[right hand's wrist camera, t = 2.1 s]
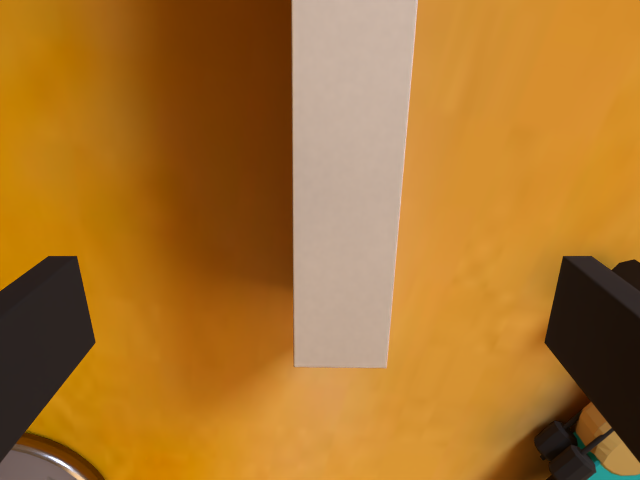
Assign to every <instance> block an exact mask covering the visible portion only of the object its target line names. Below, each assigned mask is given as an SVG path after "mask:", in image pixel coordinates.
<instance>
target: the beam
mask: <svg viewBox="0 0 640 480" xmlns="http://www.w3.org/2000/svg"><path fill="white" fill-rule="evenodd" d="M417 5H418V0H291V27H292V180H293V333H294V367H330V368H386V367H387V357H388V346H389V334H390V322H391V310H392V299H393V287H394V275H395V263H396V252H397V240H398V228H399V217H400V205H401V193H402V181H403V170H404V158H405V146H406V134H407V123H408V111H409V99H410V87H411V76H412V64H413V52H414V40H415V29H416V17H417Z"/></svg>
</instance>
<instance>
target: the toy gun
mask: <svg viewBox="0 0 640 480" xmlns="http://www.w3.org/2000/svg"><path fill="white" fill-rule="evenodd" d="M611 271H613V272H614V273H615V274H617V275H618V276H619V277H621V278H622V279H624V280H625V281H626V282H628V283H629V284H630V285H632V286H633V287H635V288H636V289H637V290H639V291H640V263H639V262H638V261H636V260H630V261H626V262H621V263H619V264H618V265H617V266H616V267H615V268H614V269H612V270H611ZM577 421H578V422H577ZM576 422H577V425H576V431H575V432H574V433H573V432H572V431H571V430H570V429H569V428H570V427H571V426H572V425H573V424H574V423H576ZM534 443H535V446H536V448H537V449H538V451H539V452H540V453H541V454H542V455H541V456H540V458H541V459H542V460H545V459H547V460H549V461H551V462H549V469H550V472H551V474H552V475H551V476H550V477H549V478H547V479H546V480H640V463H639V462H638V460H637V459H636V458H635V456H634V455H633V454H632V453H631V451H630V450H629V449H628V448H627V446H626V445H625V444H624V443H623V441H622V440H621V439H620V437H619V436H618V435H617V434H616V432H615V431H614V430H613V429H612V427H611V426H610V425H609V424H608V422H607V421H606V420H605V418H604V417H603V416H602V415H601V413H600V412H599V411H598V410H597V408H596V407H595V406H594V405H593V403H592V402H590V403H589V404H588V405H587V406H585V407H584V408H583V409H582V410H581V411H580V412H578V413H577V414H576V415H575V416H574V417H573V418H571V419H570V420H569V421H568V422H567V423H565V424H563V423H561V422H559V421H553V422H552V423H551V424H550V425H549V426H548V427H546V428H545V429H544V430H543V431H542V432H541V433H540V434H538V435H537V436H536V437H535V438H534Z"/></svg>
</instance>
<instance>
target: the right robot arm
mask: <svg viewBox="0 0 640 480" xmlns="http://www.w3.org/2000/svg"><path fill="white" fill-rule="evenodd" d="M95 343H96V342H95V338H94V333H93V328H92V324H91V319H90V315H89V310H88V305H87V301H86V296H85V292H84V287H83V282H82V278H81V273H80V269H79V264H78V259H77V256H48V257H47V258H45V259H44V260H43V261H41V262H40V263H38V264H37V265H36V266H34V267H33V268H32V269H30V270H29V271H27V272H26V273H25V274H23V275H22V276H21V277H19V278H18V279H16V280H15V281H14V282H12V283H11V284H10V285H8V286H7V287H5V288H4V289H3V290H1V291H0V480H105V479H104V478H103V476H102V475H101V474H100V473H99V472H98V470H97V469H96V468H95V467H94V466H93V465H92V464H90V463H89V462H88V461H87V460H86V459H84V458H83V457H82V456H80V455H79V454H77V453H76V452H74V451H72V450H71V449H69V448H67V447H65V446H63V445H61V444H59V443H57V442H55V441H52V440H50V439H47V438H44V437H41V436H37V435H34V434H29V433H24V432H25V431H26V430H27V429H28V427H29V426H30V425H31V424H32V422H33V421H34V420H35V418H36V417H37V416H38V415H39V413H40V412H41V411H42V410H43V408H44V407H45V406H46V405H47V403H48V402H49V401H50V400H51V398H52V397H53V396H54V394H55V393H56V392H57V391H58V389H59V388H60V387H61V386H62V384H63V383H64V382H65V381H66V379H67V378H68V377H69V375H70V374H71V373H72V372H73V370H74V369H75V368H76V367H77V365H78V364H79V363H80V362H81V360H82V359H83V358H84V357H85V355H86V354H87V353H88V351H89V350H90V349H91V348H92V346H93V345H94V344H95ZM544 343H545V344H546V345H547V346H548V348H549V349H550V350H551V351H552V353H553V354H554V355H555V357H556V358H557V359H558V360H559V362H560V363H561V364H562V365H563V367H564V368H565V369H566V370H567V372H568V373H569V374H570V375H571V377H572V378H573V379H574V381H575V382H576V383H577V384H578V386H579V387H580V388H581V389H582V391H583V392H584V393H585V394H586V396H587V397H588V398H589V400H590V401H591V402H592V403H593V405H594V406H595V407H596V408H597V410H598V411H599V412H600V413H601V415H602V416H603V417H604V418H605V420H606V421H607V422H608V424H609V425H610V426H611V427H612V429H613V430H614V431H615V432H616V434H617V435H618V436H619V437H620V439H621V440H622V441H623V443H624V444H625V445H626V446H627V448H628V449H629V450H630V451H631V453H632V454H633V455H634V456H635V458H636V459H637V460H638V462H639V463H640V291H639V290H637V289H636V288H635V287H633V286H632V285H630V284H629V283H628V282H626V281H625V280H624V279H622V278H621V277H619V276H618V275H617V274H615V273H614V272H613V271H611V270H610V269H608V268H607V267H606V266H604V265H603V264H602V263H600V262H599V261H597V260H596V259H595V258H593V257H592V256H563V259H562V264H561V269H560V273H559V278H558V282H557V287H556V292H555V296H554V301H553V305H552V310H551V315H550V319H549V324H548V328H547V333H546V338H545V342H544Z"/></svg>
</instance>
